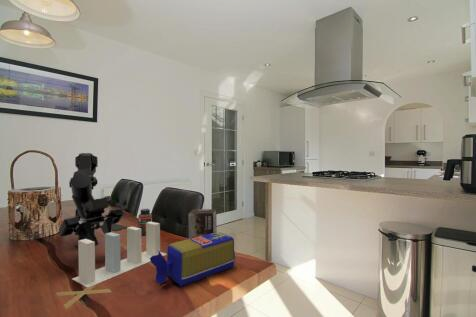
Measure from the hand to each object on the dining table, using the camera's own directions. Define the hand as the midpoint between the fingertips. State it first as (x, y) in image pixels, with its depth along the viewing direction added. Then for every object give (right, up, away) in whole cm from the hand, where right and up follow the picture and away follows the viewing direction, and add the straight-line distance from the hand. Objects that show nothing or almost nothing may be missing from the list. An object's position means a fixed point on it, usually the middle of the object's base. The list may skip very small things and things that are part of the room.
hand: (103, 242), depth 80 cm
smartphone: (-20, -9, +47) cm, 52 cm away
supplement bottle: (0, -8, +36) cm, 37 cm away
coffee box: (+31, -8, +10) cm, 33 cm away
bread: (+30, -8, -4) cm, 32 cm away
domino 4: (+13, -7, +10) cm, 17 cm away
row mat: (+6, -8, 0) cm, 10 cm away
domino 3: (+8, -7, +3) cm, 12 cm away
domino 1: (0, -8, -9) cm, 12 cm away
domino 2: (+4, -7, -3) cm, 9 cm away
